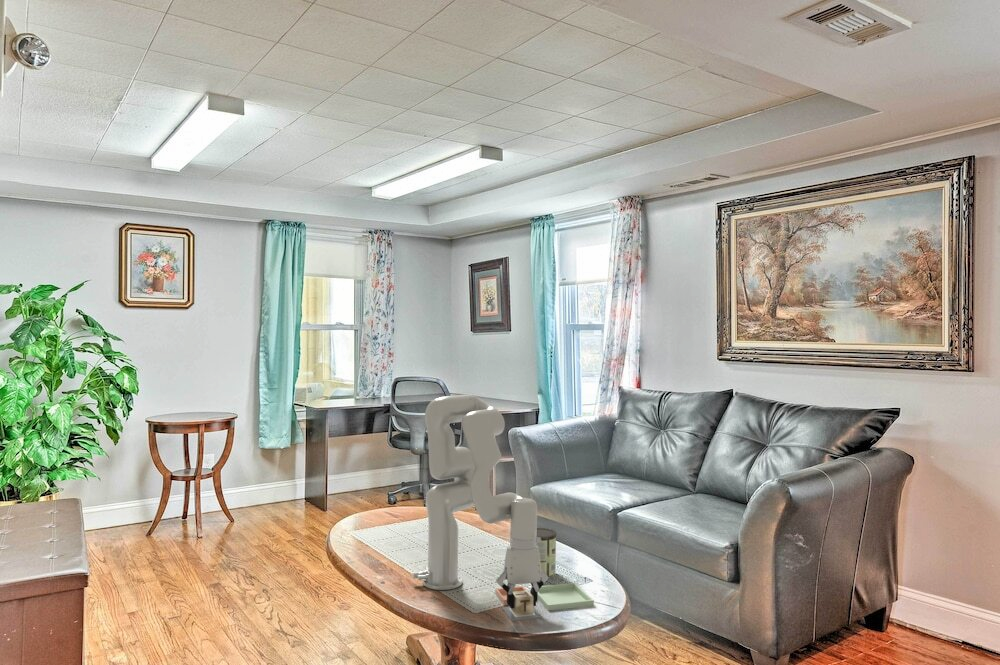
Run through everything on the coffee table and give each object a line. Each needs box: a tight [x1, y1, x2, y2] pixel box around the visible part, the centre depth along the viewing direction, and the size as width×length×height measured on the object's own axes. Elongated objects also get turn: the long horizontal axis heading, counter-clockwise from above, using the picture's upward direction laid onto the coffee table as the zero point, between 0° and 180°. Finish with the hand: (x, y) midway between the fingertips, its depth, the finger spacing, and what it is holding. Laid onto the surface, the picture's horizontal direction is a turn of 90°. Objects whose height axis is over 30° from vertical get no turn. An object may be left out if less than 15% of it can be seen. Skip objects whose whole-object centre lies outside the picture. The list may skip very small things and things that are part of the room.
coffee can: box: [537, 527, 557, 579], centre depth 232 cm, size 10×10×14 cm
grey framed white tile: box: [502, 605, 543, 622], centre depth 199 cm, size 9×9×1 cm
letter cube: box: [511, 589, 533, 616], centre depth 199 cm, size 5×5×5 cm
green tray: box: [537, 582, 595, 611], centre depth 210 cm, size 14×14×2 cm
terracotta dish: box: [494, 585, 527, 606], centre depth 210 cm, size 9×9×2 cm
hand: (522, 604), depth 199 cm, fingers open, 6 cm apart
